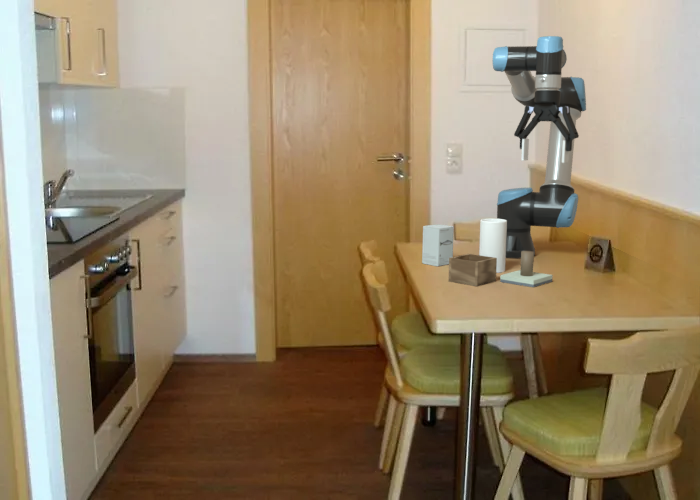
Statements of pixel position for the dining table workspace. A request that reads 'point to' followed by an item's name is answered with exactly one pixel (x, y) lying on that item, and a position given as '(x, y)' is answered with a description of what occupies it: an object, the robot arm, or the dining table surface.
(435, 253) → the supplement box
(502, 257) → the cup
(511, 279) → the lid
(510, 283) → the plate
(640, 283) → the dining table surface
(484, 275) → the box
